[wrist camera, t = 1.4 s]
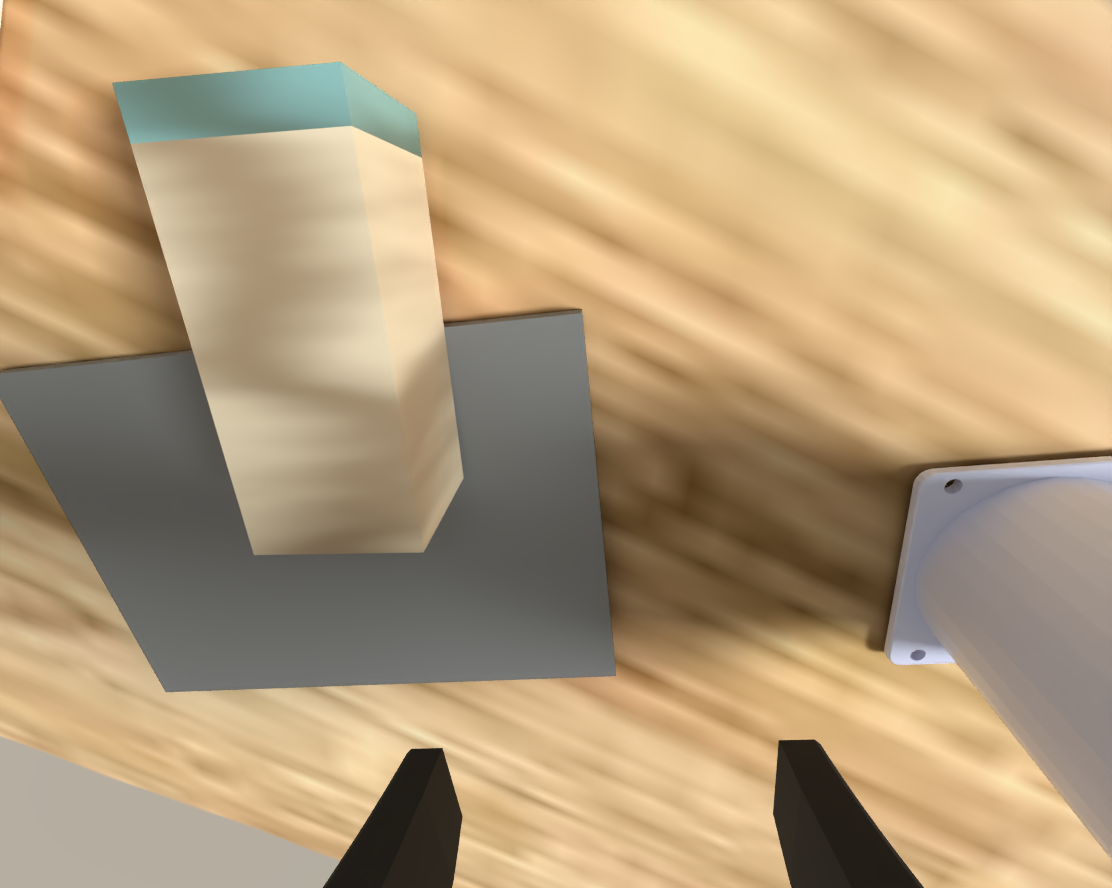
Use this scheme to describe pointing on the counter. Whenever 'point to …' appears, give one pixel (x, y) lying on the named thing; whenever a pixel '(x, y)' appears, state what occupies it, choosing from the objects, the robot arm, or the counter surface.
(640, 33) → the counter surface
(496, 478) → the mat
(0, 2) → the bracket
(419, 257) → the tall block
